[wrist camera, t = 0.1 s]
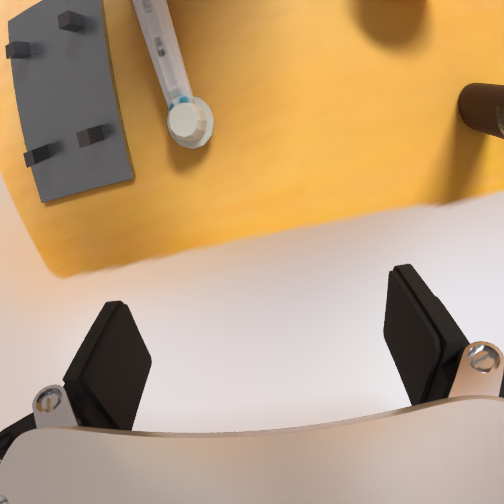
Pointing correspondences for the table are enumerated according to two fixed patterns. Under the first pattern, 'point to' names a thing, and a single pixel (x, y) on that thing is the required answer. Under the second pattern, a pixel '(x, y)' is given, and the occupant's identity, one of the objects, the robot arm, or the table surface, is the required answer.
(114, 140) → the peg stand
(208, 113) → the white handheld device
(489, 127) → the wine bottle
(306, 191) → the table surface
